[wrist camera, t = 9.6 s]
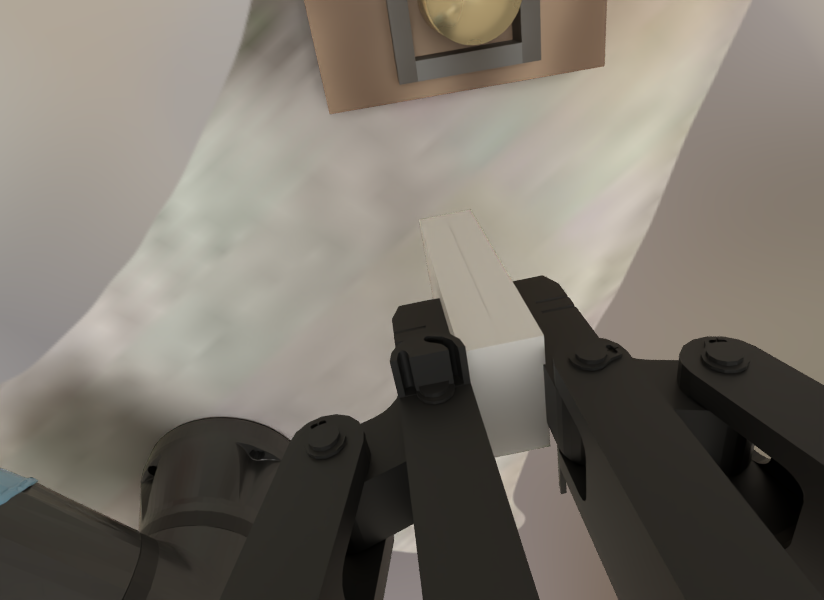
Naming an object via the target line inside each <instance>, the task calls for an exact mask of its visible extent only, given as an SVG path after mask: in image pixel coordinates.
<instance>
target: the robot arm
mask: <svg viewBox="0 0 824 600" xmlns="http://www.w3.org/2000/svg"><path fill="white" fill-rule="evenodd" d="M419 223H420V229H421V234H422V240H423V245H424V251H425V256H426V262H427V267H428V273H429V279H430V284H431V290H432V295H433V299H432V300H427V301H422V302H417V303H412V304H407V305H402V306H399V307H398V309H397V311H396V313H395V315H394V316H393V318H392V323H393V331H394V339H395V347H396V348H395V349H394V350H393V352H392V354H391V358H390V364H391V368H392V372H393V376H394V381H395V385H396V389H397V393H398V396H397V399H396V400H395V401H394V403H393V404H392V405H391V406H390V407H389V408H388V409H387V410H385V411H384V412H383V413H381V414H380V415H378V416H376V417H374V418H372V419H370V420H368V421H366V422H364V423H362V424H360V423H359V421H357V420H355V419H353V418H352V417H350V416H346V415H338V414H335V415H329V416H323V417H320V418H318V419H316V420H313V421H311V422H309V423H307V424H306V425H305V426H304V427H302V428H301V429H300V430H299V431H297V432H296V434H295V435H294V437H293V438H292V440H291V441H289V440H288V439H286V438H285V437H284V436H282V435H281V434H279V433H277V432H276V431H274V430H272V429H270V428H267V427H265V426H263V425H260V424H257V423H253V422H250V421H245V420H240V419H231V418H211V419H203V420H197V421H193V422H190V423H187V424H184V425H182V426H179V427H177V428H175V429H174V430H172V431H170V432H169V433H167V434H166V435H165V436H164V437H162V438H161V439H160V440H159V442H158V443H157V444H156V446H155V447H154V449H153V451H152V453H151V455H150V457H149V459H148V461H147V463H146V466H145V468H144V471H143V474H142V479H141V494H140V515H139V531H137V530H135V529H133V528H131V527H129V526H126V525H124V524H122V523H120V522H118V521H116V520H114V519H112V518H109V517H107V516H105V515H103V514H101V513H99V512H97V511H94V510H92V509H90V508H88V507H86V506H84V505H82V504H80V503H77V502H75V501H73V500H71V499H69V498H67V497H65V496H63V495H61V494H59V493H57V492H55V491H53V490H51V489H49V488H47V487H45V486H43V485H41V484H38V483H37V482H38V480H36V479H35V478H32V477H30V478H25V477H22V476H20V475H17V474H15V473H12V472H10V471H7V470H5V469H2V468H0V600H383V598H384V593H385V587H386V582H387V576H388V571H389V565H390V559H391V553H392V548H393V543H394V534H396V533H397V532H399V531H401V530H403V529H405V528H407V527H408V526H410V525H412V524H414V529H415V537H416V546H417V554H418V562H419V571H420V579H421V587H422V595H423V600H540V599H539V596H538V593H537V590H536V587H535V584H534V580H533V577H532V574H531V571H530V568H529V565H528V562H527V559H526V555H525V552H524V550H523V546H522V543H521V539H520V536H519V533H518V530H517V527H516V524H515V521H514V517H513V514H512V511H511V508H510V505H509V502H508V499H507V495H506V492H505V489H504V486H503V483H502V480H501V476H500V473H499V470H498V467H497V464H496V461H495V457H500V456H505V455H509V454H514V453H519V452H524V451H529V450H534V449H539V448H544V447H549V446H550V432H549V428H550V430H551V432H552V434H553V437H554V439H555V441H556V443H557V448H558V449H557V451H558V471H559V486H560V492H561V494H563V493H566V483H567V485H568V487H569V489H570V492H571V494H572V496H573V498H574V501H575V503H576V505H577V507H578V510H579V512H580V514H581V516H582V519H583V521H584V523H585V525H586V527H587V530H588V532H589V534H590V536H591V539H592V541H593V543H594V546H595V548H596V550H597V552H598V555H599V557H600V559H601V561H602V564H603V566H604V568H605V570H606V573H607V575H608V577H609V579H610V582H611V584H612V586H613V588H614V590H615V593H616V595H617V597H618V600H824V385H822V384H821V383H819V382H817V381H815V380H814V379H812V378H810V377H808V376H807V375H804V374H803V373H801V372H799V371H798V370H796V369H794V368H792V367H791V366H789V365H787V364H785V363H784V362H782V361H780V360H778V359H776V358H775V357H773V356H771V355H770V354H768V353H766V352H764V351H763V350H761V349H759V348H757V347H756V346H753V345H751V344H748V343H746V342H744V341H741V340H737V339H732V338H727V337H703V338H699V339H694V340H692V341H690V342H689V343H687V344H686V345H684V346H683V348H682V350H681V352H680V354H679V360H644V359H635V358H632V357H631V355H630V354H629V353H628V352H627V351H626V350H625V349H624V348H623V347H622V346H620V345H619V344H617V343H615V342H612V341H610V340H607V339H603V338H599V337H598V336H597V334H596V333H595V332H594V330H593V329H592V328H591V326H590V325H589V324H588V322H587V321H586V320H585V318H584V317H583V316H582V314H581V313H580V312H579V310H578V309H577V308H576V307H575V306H574V304H573V302H572V301H571V300H570V298H569V297H567V294H566V293H565V292H564V290H563V289H562V288H561V286H560V285H559V284H558V283H556V282H554V281H553V280H551V279H549V278H547V277H545V276H543V275H542V276H537V277H532V278H527V279H523V280H518V281H512V280H511V278H510V276H509V275H508V273H507V271H506V269H505V268H504V266H503V264H502V263H501V261H500V259H499V257H498V256H497V254H496V252H495V251H494V249H493V247H492V245H491V244H490V242H489V240H488V239H487V237H486V235H485V233H484V232H483V230H482V228H481V227H480V225H479V223H478V221H477V220H476V218H475V216H474V215H473V213H472V211H471V209H469V210H464V211H459V212H454V213H449V214H444V215H440V216H435V217H430V218H425V219H420V220H419ZM754 445H755V446H757V447H758V448H759V449H761V450H762V451H763V452H765V453H766V454H767V455H769V456H770V457H771V459H768V458H766V457H764V456H762V455H760V454H759V453H758V452H756V451H755V450H754Z"/></svg>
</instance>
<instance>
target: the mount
mask: <svg viewBox="0 0 824 600" xmlns="http://www.w3.org/2000/svg"><path fill="white" fill-rule="evenodd" d="M304 3H305V7H306V12H307V16H308V20H309V25H310V29H311V34H312V38H313V42H314V47H315V51H316V56H317V60H318V65H319V69H320V73H321V78H322V82H323V87H324V91H325V96H326V100H327V104H328V109H329V113H330V114H334V113H340V112H345V111H351V110H357V109H363V108H368V107H374V106H380V105H385V104H391V103H397V102H403V101H408V100H414V99H420V98H425V97H431V96H437V95H443V94H448V93H454V92H460V91H465V90H471V89H477V88H482V87H488V86H494V85H500V84H505V83H511V82H517V81H522V80H528V79H534V78H540V77H545V76H551V75H557V74H562V73H568V72H574V71H580V70H585V69H591V68H597V67H602V66H604V65H605V38H606V11H607V0H522V2H521V5H520V8H519V11H518V13H517V15H516V17H515V18H514V20H513V22H512V23H511V24H510V26H509V27H508V28H507V29H506V30H505V31H504V32H503V33H502V34H501V35H499V36H498V37H497V38H495V39H493V40H491V41H489V42H486V43H483V44H479V45H464V44H460V43H457V42H454V41H452V40H450V39H449V38H447V37H445V36H443V35H442V34H440V33H438V32H436V31H435V30H434V29H432V28H431V27H430V26H429V25H428V24H427V22H426V21H425V20H424V18H423V16H422V15H421V12H420V10H419V7H418V4H417V0H304Z"/></svg>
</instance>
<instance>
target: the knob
mask: <svg viewBox="0 0 824 600" xmlns="http://www.w3.org/2000/svg"><path fill="white" fill-rule="evenodd" d="M521 2H522V0H417V4H418V7H419V10H420V12H421V15H422V16H423V18H424V20H425V21H426V22H427V24H428V25H429V26H430V27H431V28H432V29H434V30H435V31H436V32H438V33H440V34H442V35H443V36H445V37H447V38H449V39H450V40H452V41H454V42H457V43H460V44H464V45H479V44H483V43H486V42H489V41H491V40H493V39H495V38H497V37H498V36H499V35H501V34H502V33H503V32H504V31H505V30H506V29H507V28H508V27H509V26H510V24H511V23H512V22H513V20H514V18H515V17H516V15H517V13H518V11H519V8H520V5H521Z"/></svg>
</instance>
